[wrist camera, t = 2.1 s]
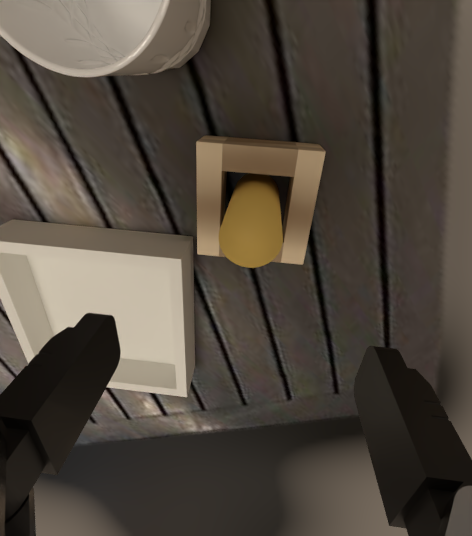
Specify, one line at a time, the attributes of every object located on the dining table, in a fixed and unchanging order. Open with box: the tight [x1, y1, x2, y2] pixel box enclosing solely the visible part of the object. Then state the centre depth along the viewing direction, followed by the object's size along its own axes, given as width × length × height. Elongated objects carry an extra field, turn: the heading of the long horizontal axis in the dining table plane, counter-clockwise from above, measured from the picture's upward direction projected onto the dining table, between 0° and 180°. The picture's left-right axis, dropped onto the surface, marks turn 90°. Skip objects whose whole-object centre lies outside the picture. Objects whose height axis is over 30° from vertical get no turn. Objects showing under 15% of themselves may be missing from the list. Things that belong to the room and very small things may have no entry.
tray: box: [0, 219, 195, 397], centre depth 28 cm, size 16×16×4 cm
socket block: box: [196, 135, 326, 265], centre depth 22 cm, size 8×8×3 cm
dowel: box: [219, 173, 283, 268], centre depth 20 cm, size 4×4×8 cm
